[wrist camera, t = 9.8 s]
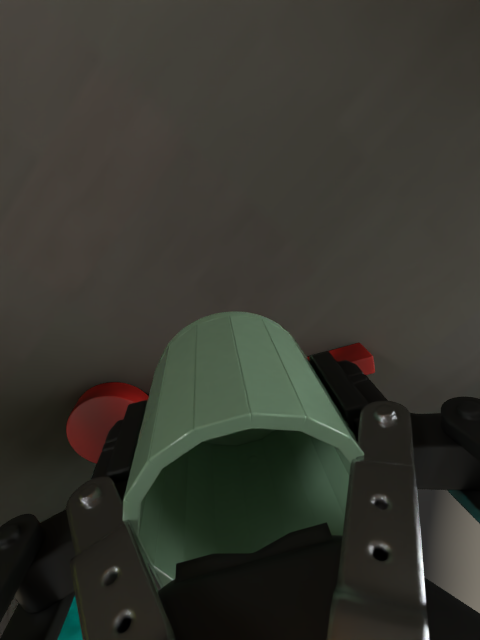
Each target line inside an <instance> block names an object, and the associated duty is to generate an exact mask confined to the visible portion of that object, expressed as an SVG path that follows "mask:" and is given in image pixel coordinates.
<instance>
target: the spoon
mask: <svg viewBox="0 0 480 640" xmlns="http://www.w3.org/2000/svg"><path fill="white" fill-rule="evenodd" d="M329 352H330V353H331V355H332V356H333V357H334V359H335V360H336V361H337V362H338V361H342V360H348V361H350V362H352V363H354V364H356V365H357V366H358V367H359V368H360V369H361V370H362V372H363V374H365V375H368V374H372V373H375V368H374V359H373V356H372V355H371V354H370V353H369V352H368V351H367V350H366V349H365V348H364V347H363V346H362V345H361V344H360V343H356V344H352V345H349V346H345V347H341V348H338V349H334V350H330V351H329ZM307 358H308V359H309V356H308V357H307ZM148 397H149V396H148V395H147V394H146V393H144V392H143V391H142V390H140V389H139V388H137V387H135V386H132V385H129V384H125V383H119V382H110V383H103V384H100V385H97V386H94V387H92V388H90V389H89V390H87V391H86V392H85V393H84V394H83V395H82V396H81V397H80V398H79V400H78V402H77V403H76V405H75V407H74V408H73V410H72V412H71V414H70V415H69V418H68V420H67V424H66V433H67V438H68V441H69V443H70V445H71V446H72V448H73V449H74V450H75V451H76V452H77V453H78V454H79V455H80V456H82V457H83V458H85V459H86V460H88V461H91V462H93V463H96V464H97V462H98V459H99V457H100V454H101V452H102V448H103V446H104V444H105V440H106V438H107V435H108V432H109V431H110V429H111V428H112V427H113V426H114V425H115V423H116V422H117V421H119V420H123V419H124V416H125V413H126V410H127V407H128V405H129V404H132V403H136V402H139V401H143V400H147V399H148Z"/></svg>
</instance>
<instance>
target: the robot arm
mask: <svg viewBox="0 0 480 640" xmlns="http://www.w3.org/2000/svg"><path fill="white" fill-rule="evenodd" d="M309 361H310V363H311V364H312V366H313V367H314V369H315V371H316V372H317V374H318V375H319V377H320V379H321V380H322V382H323V384H324V385H325V387H326V388H327V390H328V392H329V393H330V395H331V397H332V398H333V400H334V401H335V403H336V405H337V406H338V408H339V409H340V411H341V413H342V414H343V416H344V418H345V419H346V421H347V422H348V424H349V426H350V427H351V429H352V430H353V432H354V434H355V435H356V437H357V439H358V444H359V445H360V447H361V449H362V450H363V452H364V455H363V456H359V457H356V459H352V461H351V466H350V474H349V483H348V492H347V501H346V510H345V518H344V527H343V536H342V535H331V532H330V529H329V527H328V524H327V522H326V523H322V524H319V525H315V526H311V527H308V528H304V529H301V530H297V531H293V532H290V533H288V534H286V535H285V536H283V537H281V538H279V539H278V540H276V541H274V542H272V543H270V544H269V545H267V546H265V547H263V548H262V549H260V550H258V551H256V552H254V553H213V554H210V555H206V556H202V557H199V558H195V559H191V560H188V561H184V562H181V563H177V564H176V575H175V579H174V580H172V581H171V582H169V583H168V584H167V585H165V586H163V584H162V582H161V580H160V578H159V576H158V574H157V573H156V572H155V570H154V569H153V567H152V565H151V563H150V561H149V559H148V557H147V555H146V553H145V551H144V549H143V547H142V545H141V543H140V541H139V539H138V537H137V534H136V532H135V530H134V528H133V526H132V524H131V522H130V521H129V520H125V521H123V520H122V514H123V499H124V495H125V491H126V487H127V482H128V478H129V474H130V470H131V466H132V462H133V458H134V454H135V450H136V446H137V442H138V438H139V434H140V430H141V426H142V421H143V417H144V413H145V409H146V405H147V401H148V399H147V400H143V401H139V402H136V403H132V404H129V405H128V407H127V410H126V413H125V416H124V419H123V420H119V421H117V422H116V423H115V425H114V426H113V427H112V428H111V429H110V431H109V432H108V435H107V438H106V440H105V444H104V446H103V448H102V452H101V454H100V457H99V459H98V462H97V465H96V467H95V470H94V473H93V475H92V478H91V480H89V481H87V482H86V483H84V484H83V485H81V486H80V487H79V488H78V489H77V490H76V491H75V492H74V493H73V494H72V495H71V497H70V498H69V500H68V502H67V506H66V510H64V511H62V512H60V513H58V514H56V515H55V516H53V517H51V518H49V519H47V520H45V521H43V522H41V523H39V521H38V520H37V518H36V517H35V516H34V515H32V514H23V515H20V516H17V517H15V518H13V519H11V520H10V521H8V522H6V523H5V524H4V525H2V526H1V527H0V622H1V620H2V618H3V616H4V614H5V613H6V611H7V609H8V607H9V605H10V603H11V601H12V600H13V598H14V597H15V599H16V600H17V601H18V602H19V604H18V606H17V608H16V610H15V611H14V613H13V615H12V617H11V619H10V621H9V623H8V625H7V627H6V629H5V631H4V633H3V635H2V636H1V638H0V640H57V639H58V637H59V634H60V632H61V629H62V627H63V624H64V622H65V619H66V617H67V614H68V612H69V609H70V607H71V604H72V601H73V599H74V596H75V598H76V604H77V609H78V615H79V621H80V627H81V632H82V638H83V640H480V613H478V612H477V611H475V610H473V609H472V608H470V607H469V606H467V605H466V604H464V603H463V602H461V601H460V600H458V599H456V598H455V597H454V596H452V595H451V594H449V593H448V592H446V591H444V590H443V589H441V588H440V587H438V586H437V585H435V584H434V583H432V582H431V581H429V580H428V579H426V578H425V577H424V570H423V558H422V546H421V534H420V522H419V509H418V497H417V489H437V490H440V489H441V490H448V491H449V493H450V494H451V495H452V496H453V497H454V498H455V499H456V500H457V501H458V502H459V503H460V504H461V505H462V506H463V507H464V508H465V509H466V510H467V511H468V512H469V513H470V514H471V515H472V516H473V517H474V518H475V519H476V520H477V521H478V522H479V523H480V399H478V398H473V397H456V398H452V399H449V400H447V401H446V402H444V404H443V405H442V407H441V413H437V414H413V413H410V412H409V411H408V410H407V408H405V407H404V406H403V405H401V404H399V403H396V402H392V401H388V400H387V399H386V398H385V397H384V396H383V395H382V393H381V392H380V391H379V390H378V389H377V388H376V387H375V385H374V384H373V383H372V382H371V381H370V380H369V379H368V377H367V376H366V375H365V374H363V372H362V370H361V369H360V368H359V367H358V366H357V365H356V364H354V363H352V362H350V361H348V360H342V361H338V362H337V361H336V360H335V359H334V357H333V356H332V355H331V353H330V352H329V351H326V352H322V353H318V354H314V355H311V356H309Z"/></svg>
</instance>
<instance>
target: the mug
mask: <svg viewBox="0 0 480 640" xmlns="http://www.w3.org/2000/svg"><path fill="white" fill-rule="evenodd" d="M363 455H364V452H363V450H362V449H361V447H360V445H359V444H358V439H357V437H356V435H355V434H354V432H353V430H352V429H351V427H350V426H349V424H348V422H347V421H346V419H345V418H344V416H343V414H342V413H341V411H340V409H339V408H338V406H337V405H336V403H335V401H334V400H333V398H332V397H331V395H330V393H329V392H328V390H327V388H326V387H325V385H324V384H323V382H322V380H321V379H320V377H319V375H318V374H317V372H316V371H315V369H314V367H313V366H312V364H311V363H310V361H309V359H308V358H307V356H306V355H305V353H304V352H303V351H302V349H301V348H300V347H299V345H298V344H297V342H296V340H295V339H294V338H293V337H292V336H291V334H290V333H289V332H288V331H287V330H285V329H284V328H283V327H282V326H280V325H279V324H277V323H276V322H274V321H272V320H270V319H268V318H266V317H263V316H260V315H257V314H253V313H247V312H222V313H217V314H212V315H209V316H206V317H203V318H201V319H199V320H197V321H195V322H193V323H191V324H190V325H188V326H187V327H185V328H184V329H182V330H181V331H180V332H179V333H178V334H177V335H176V336H175V337H174V338H173V339H172V340H171V341H170V342H169V344H168V345H167V347H166V348H165V350H164V351H163V353H162V355H161V357H160V360H159V363H158V366H157V367H156V369H155V373H154V377H153V381H152V385H151V389H150V393H149V397H148V401H147V405H146V409H145V413H144V417H143V421H142V426H141V430H140V434H139V438H138V442H137V446H136V450H135V454H134V458H133V462H132V466H131V470H130V474H129V478H128V482H127V487H126V491H125V495H124V499H123V514H122V520H123V521H125V520H129V521H130V522H131V524H132V526H133V528H134V530H135V532H136V534H137V537H138V539H139V541H140V543H141V545H142V547H143V549H144V551H145V553H146V555H147V557H148V559H149V561H150V563H151V565H152V567H153V569H154V570H155V572H156V573H157V574H158V576H159V578H160V580H161V582H162V584H163V586H165V585H167V584H168V583H169V582H171V581H172V580H174V579H175V575H176V564H177V563H181V562H184V561H188V560H191V559H195V558H199V557H202V556H206V555H210V554H213V553H254V552H256V551H258V550H260V549H262V548H263V547H265V546H267V545H269V544H270V543H272V542H274V541H276V540H278V539H279V538H281V537H283V536H285V535H286V534H288V533H290V532H293V531H297V530H301V529H304V528H308V527H311V526H315V525H319V524H322V523H326V522H327V524H328V527H329V529H330V532H331V535H342V536H343V527H344V518H345V510H346V501H347V492H348V483H349V474H350V466H351V461H352V459H356V457H359V456H363Z"/></svg>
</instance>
